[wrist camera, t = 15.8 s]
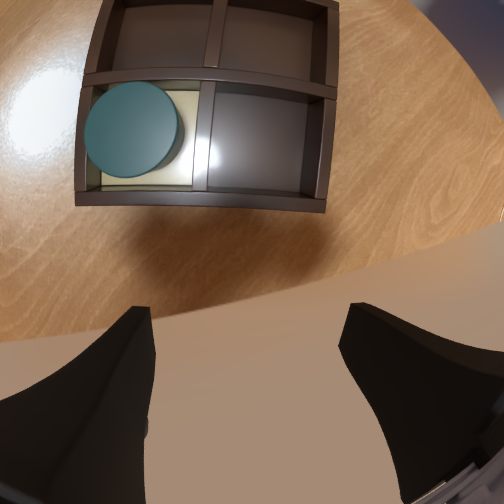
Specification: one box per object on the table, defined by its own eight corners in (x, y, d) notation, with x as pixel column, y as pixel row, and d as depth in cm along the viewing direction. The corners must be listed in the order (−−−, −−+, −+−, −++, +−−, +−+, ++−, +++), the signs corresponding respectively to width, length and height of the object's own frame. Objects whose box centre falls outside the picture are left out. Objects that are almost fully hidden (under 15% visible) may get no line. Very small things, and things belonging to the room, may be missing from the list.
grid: (306, 204, 18) (325, 213, 15) (93, 197, 15) (74, 206, 12) (321, 18, 13) (339, 2, 10) (119, 4, 10) (108, -16, 8)
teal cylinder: (182, 172, 15) (174, 178, 11) (111, 172, 14) (81, 180, 10) (188, 99, 14) (183, 79, 10) (116, 101, 13) (88, 85, 9)
